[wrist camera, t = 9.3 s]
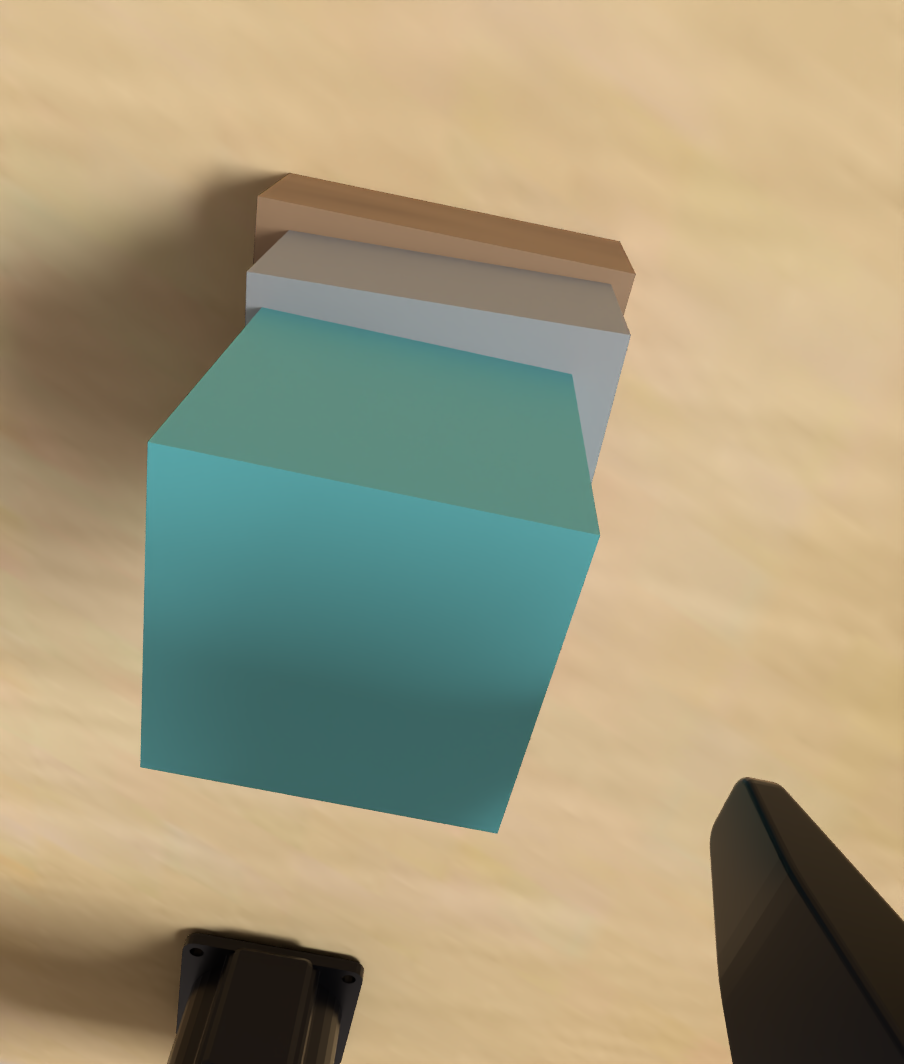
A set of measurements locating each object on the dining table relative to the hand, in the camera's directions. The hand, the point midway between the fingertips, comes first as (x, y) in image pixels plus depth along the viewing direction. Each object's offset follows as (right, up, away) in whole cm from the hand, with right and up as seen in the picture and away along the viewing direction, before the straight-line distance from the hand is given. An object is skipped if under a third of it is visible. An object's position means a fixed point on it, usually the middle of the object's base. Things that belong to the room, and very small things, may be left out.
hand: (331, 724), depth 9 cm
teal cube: (0, +3, +6) cm, 6 cm away
